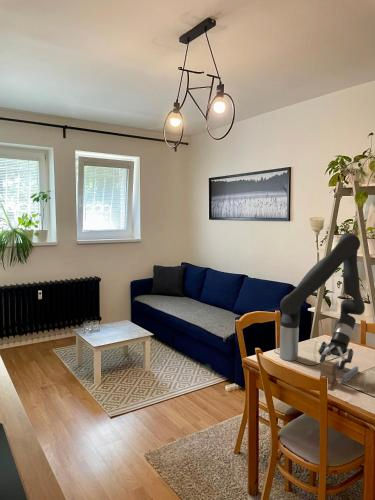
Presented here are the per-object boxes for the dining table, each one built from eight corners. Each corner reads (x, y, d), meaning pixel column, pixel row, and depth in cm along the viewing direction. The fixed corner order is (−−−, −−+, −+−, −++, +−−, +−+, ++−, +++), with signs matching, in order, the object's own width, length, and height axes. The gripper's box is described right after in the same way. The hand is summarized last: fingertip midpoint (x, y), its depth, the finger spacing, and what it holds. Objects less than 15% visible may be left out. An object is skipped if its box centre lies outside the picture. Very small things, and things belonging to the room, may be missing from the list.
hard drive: (318, 342, 212) (324, 350, 200) (332, 343, 211) (339, 351, 199) (318, 345, 212) (324, 353, 200) (332, 345, 211) (339, 354, 199)
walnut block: (324, 378, 168) (325, 358, 167) (337, 383, 164) (338, 362, 163) (316, 385, 162) (316, 364, 161) (329, 390, 158) (330, 368, 157)
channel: (336, 365, 183) (336, 360, 183) (358, 371, 176) (358, 366, 176) (322, 375, 172) (322, 370, 171) (344, 382, 164) (345, 377, 164)
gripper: (324, 328, 174) (313, 358, 167) (355, 335, 164) (344, 367, 157) (329, 336, 179) (317, 365, 172) (359, 343, 169) (348, 375, 162)
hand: (330, 366), depth 164 cm, fingers open, 8 cm apart
